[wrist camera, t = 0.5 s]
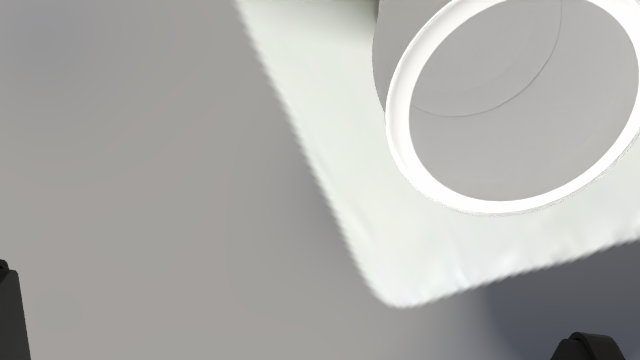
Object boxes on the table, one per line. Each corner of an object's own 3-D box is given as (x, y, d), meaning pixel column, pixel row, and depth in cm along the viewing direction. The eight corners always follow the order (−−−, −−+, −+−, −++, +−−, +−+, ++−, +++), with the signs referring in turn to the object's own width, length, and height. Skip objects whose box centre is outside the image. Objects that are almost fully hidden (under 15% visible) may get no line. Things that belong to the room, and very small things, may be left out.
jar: (434, 116, 39) (491, 258, 26) (325, 8, 35) (329, 113, 22) (569, 1, 35) (715, 102, 22) (462, -134, 31) (564, -106, 18)
